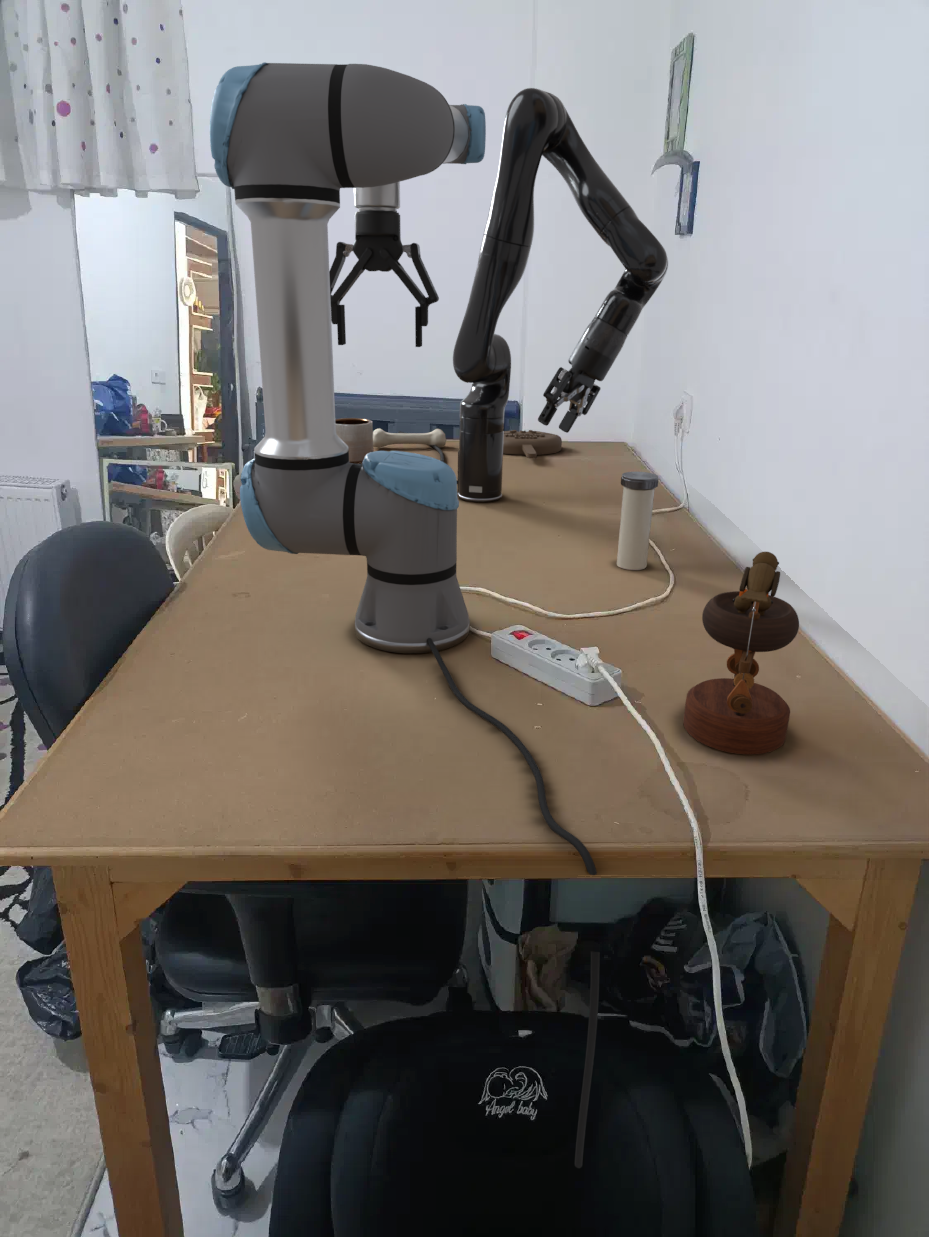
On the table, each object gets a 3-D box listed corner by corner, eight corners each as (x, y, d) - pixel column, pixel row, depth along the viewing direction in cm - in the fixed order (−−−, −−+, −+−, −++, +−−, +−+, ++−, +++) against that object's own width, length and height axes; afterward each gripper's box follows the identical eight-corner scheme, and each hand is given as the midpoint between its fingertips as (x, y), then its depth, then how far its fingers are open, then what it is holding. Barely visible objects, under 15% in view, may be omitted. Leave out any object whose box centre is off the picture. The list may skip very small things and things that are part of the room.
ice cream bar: (490, 463, 212) (491, 447, 210) (483, 442, 238) (483, 427, 236) (573, 464, 213) (575, 447, 211) (557, 443, 239) (558, 428, 237)
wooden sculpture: (807, 766, 83) (825, 574, 75) (692, 766, 84) (698, 577, 77) (772, 695, 97) (784, 526, 89) (674, 696, 98) (678, 530, 91)
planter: (327, 456, 217) (325, 418, 214) (369, 454, 220) (368, 417, 217) (334, 465, 208) (332, 425, 204) (377, 463, 211) (376, 424, 207)
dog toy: (443, 444, 234) (444, 426, 233) (447, 448, 229) (447, 430, 227) (371, 445, 231) (370, 427, 229) (372, 450, 226) (371, 431, 224)
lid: (616, 487, 134) (616, 476, 133) (626, 479, 139) (627, 469, 138) (652, 491, 132) (653, 481, 131) (661, 483, 136) (662, 474, 136)
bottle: (612, 567, 139) (620, 479, 134) (621, 559, 143) (629, 473, 138) (642, 572, 137) (650, 483, 132) (650, 563, 141) (659, 476, 136)
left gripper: (455, 213, 142) (453, 345, 150) (309, 211, 144) (315, 342, 152) (449, 210, 135) (448, 349, 143) (297, 208, 137) (304, 345, 145)
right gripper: (598, 349, 163) (555, 423, 168) (565, 330, 151) (520, 411, 156) (628, 367, 159) (583, 442, 165) (597, 348, 148) (549, 430, 153)
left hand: (380, 345), depth 147 cm, fingers open, 13 cm apart
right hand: (552, 427), depth 161 cm, fingers open, 8 cm apart
